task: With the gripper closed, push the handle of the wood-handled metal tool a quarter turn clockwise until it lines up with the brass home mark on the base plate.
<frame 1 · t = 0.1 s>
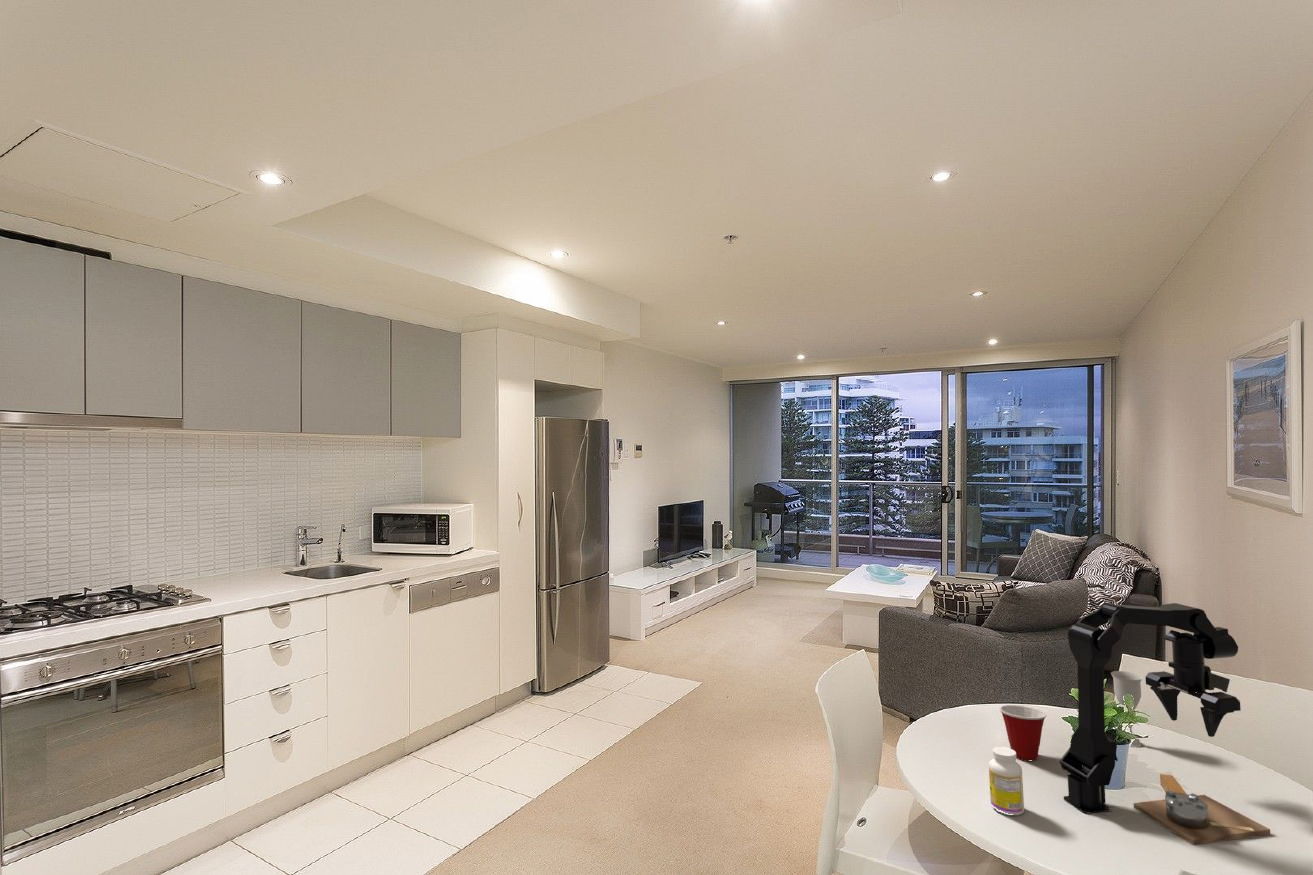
hand: (1192, 728, 151), 15 cm above the table, tool pointing down, fingers open, 9 cm apart
chalice: (1130, 743, 177), on the table
supplement bottle: (1007, 810, 147), on the table
base plate: (1187, 825, 138), on the table
wood-handled metal tool: (1179, 798, 142), point 3 cm above the table, hinge at 0.0°
plastic cup: (1024, 756, 171), on the table
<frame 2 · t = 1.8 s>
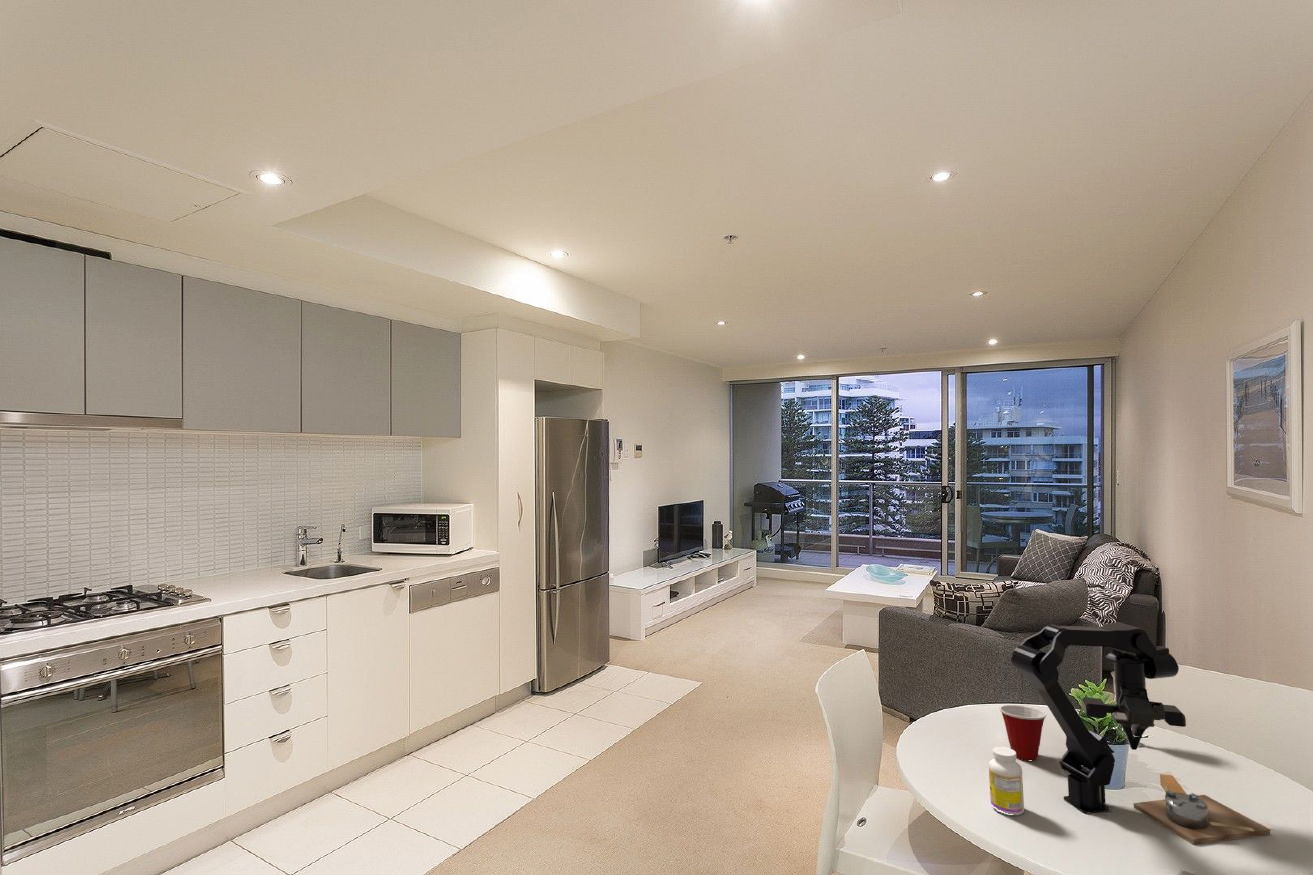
hand: (1133, 749, 150), 11 cm above the table, tool pointing down, fingers closed
nothing on the table moved.
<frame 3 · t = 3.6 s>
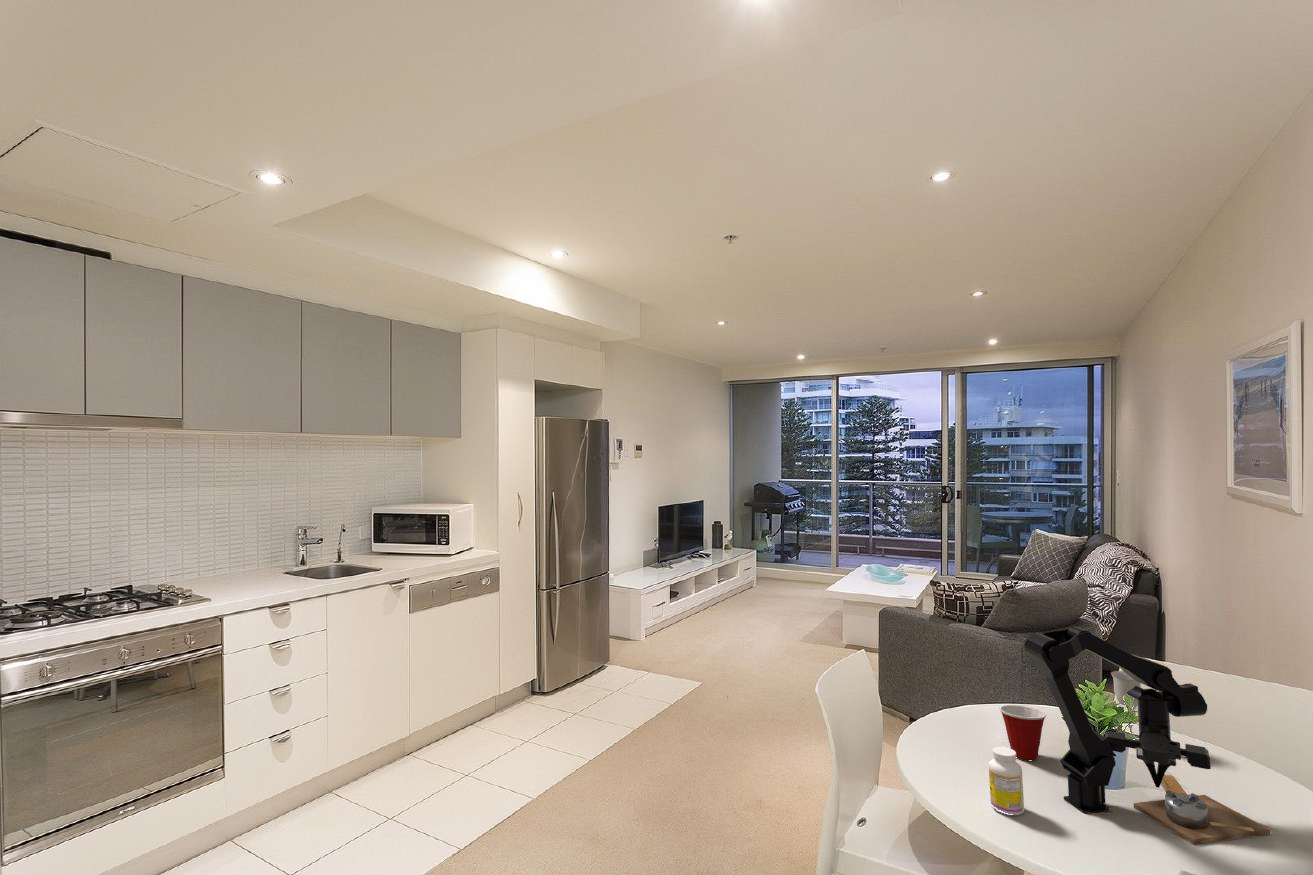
hand: (1157, 786, 148), 3 cm above the table, tool pointing down, fingers closed
wood-handled metal tool: (1179, 798, 142), point 3 cm above the table, hinge at 0.4°, touching gripper
everything else where it was.
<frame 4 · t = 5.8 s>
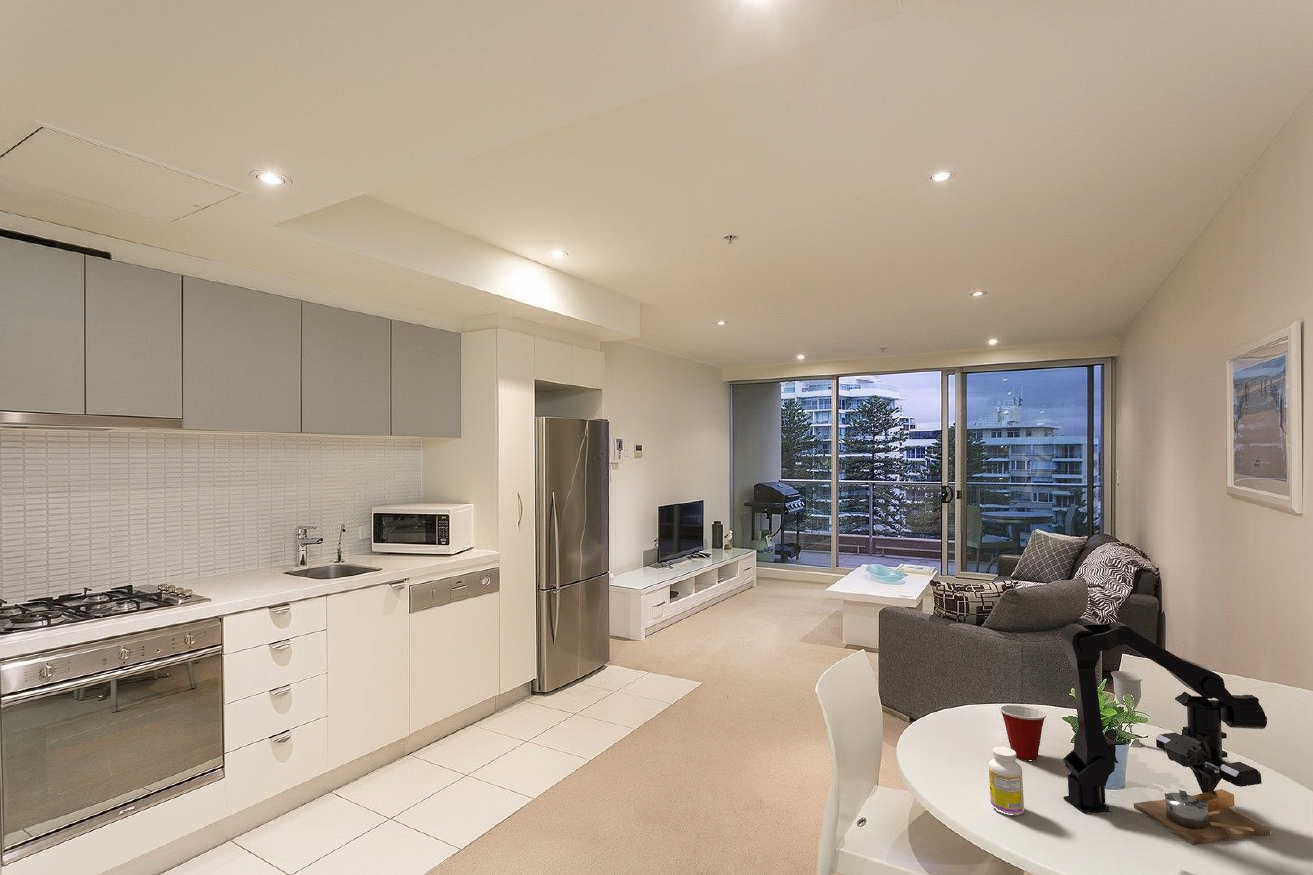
hand: (1206, 797, 143), 3 cm above the table, tool pointing down, fingers closed
wood-handled metal tool: (1201, 805, 139), point 3 cm above the table, hinge at 52.8°, touching gripper
everything else where it was.
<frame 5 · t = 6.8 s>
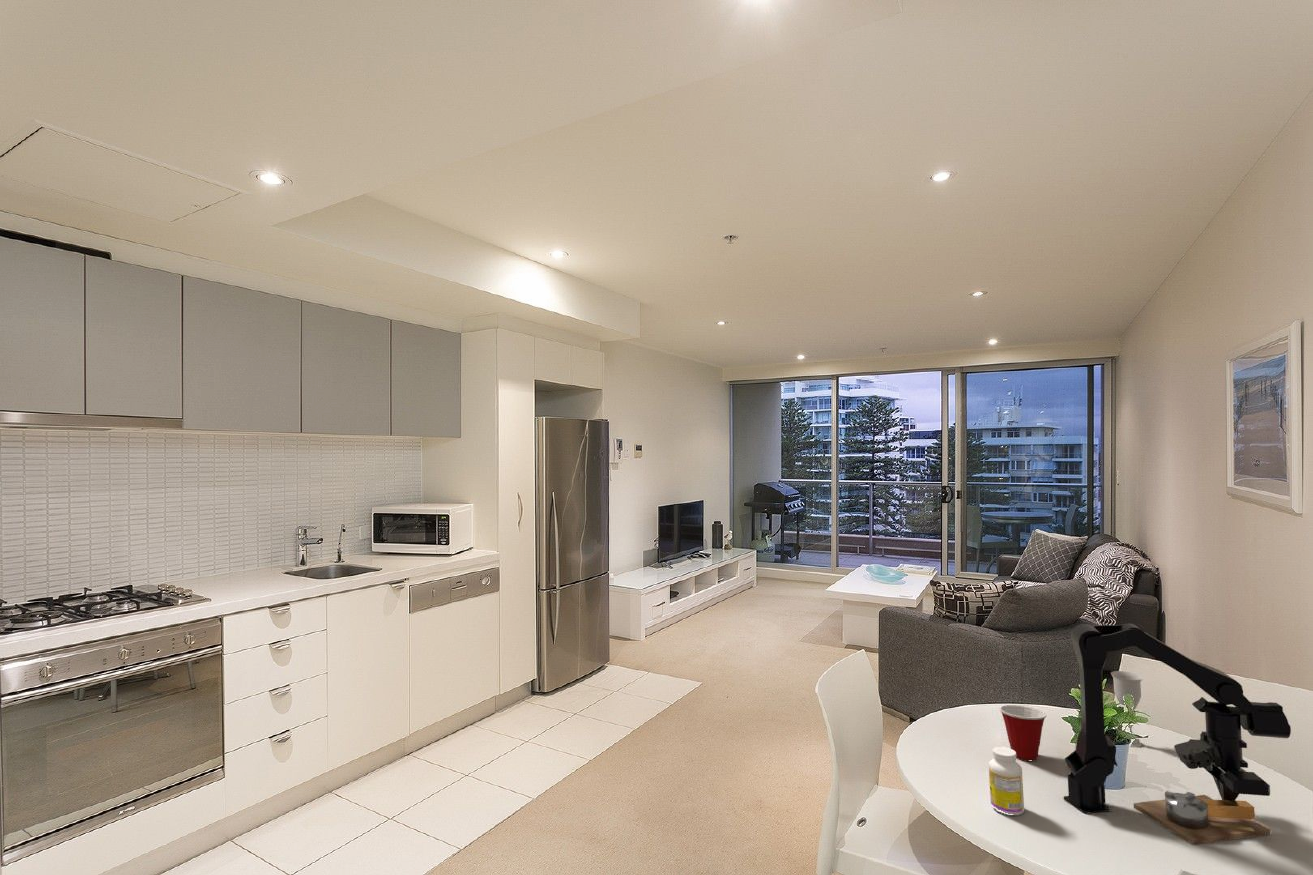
hand: (1227, 806, 139), 3 cm above the table, tool pointing down, fingers closed
wood-handled metal tool: (1208, 809, 137), point 3 cm above the table, hinge at 76.9°, touching gripper
everything else where it was.
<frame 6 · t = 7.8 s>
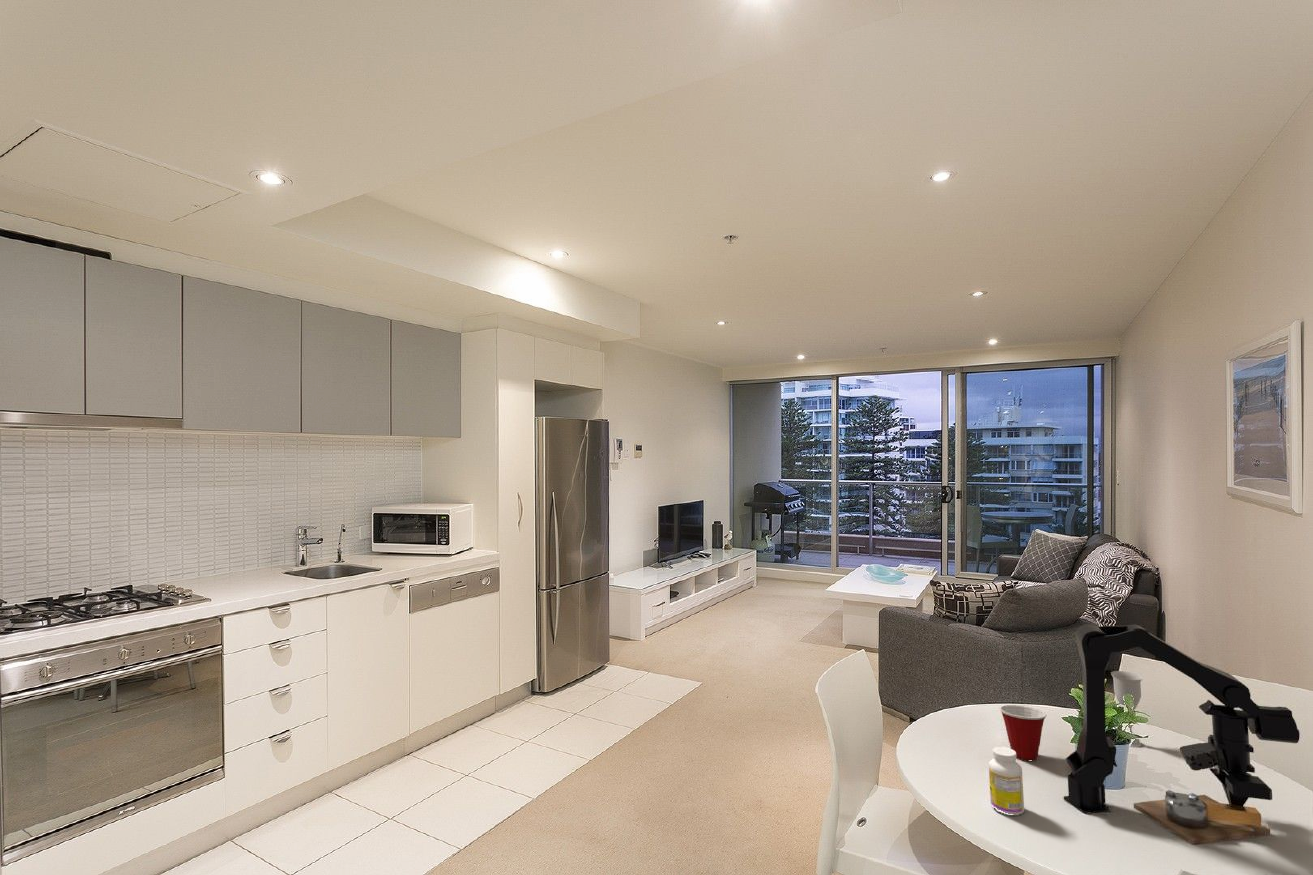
hand: (1235, 811, 137), 3 cm above the table, tool pointing down, fingers closed
wood-handled metal tool: (1211, 812, 137), point 3 cm above the table, hinge at 89.6°
everything else where it was.
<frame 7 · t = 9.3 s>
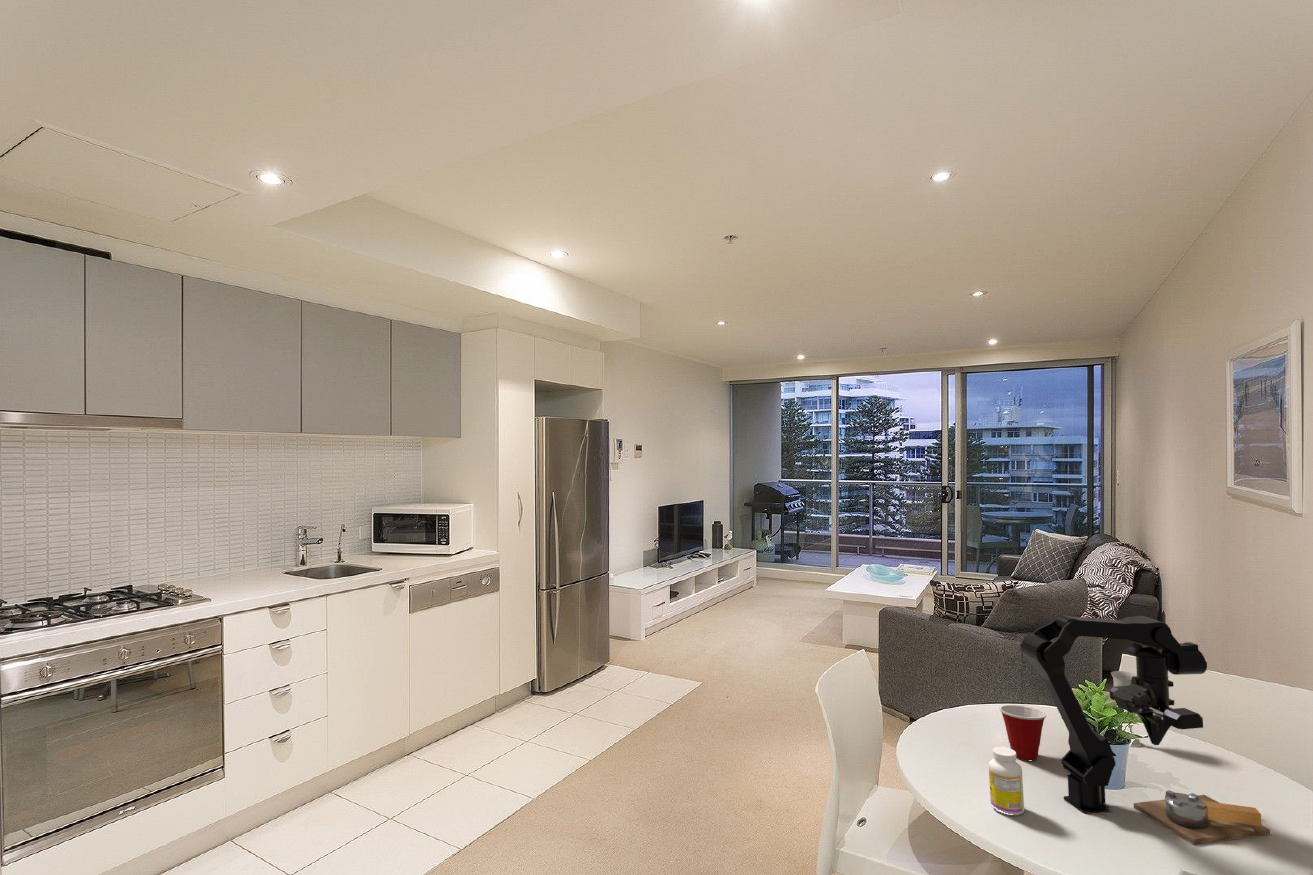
hand: (1155, 744, 147), 13 cm above the table, tool pointing down, fingers closed
nothing on the table moved.
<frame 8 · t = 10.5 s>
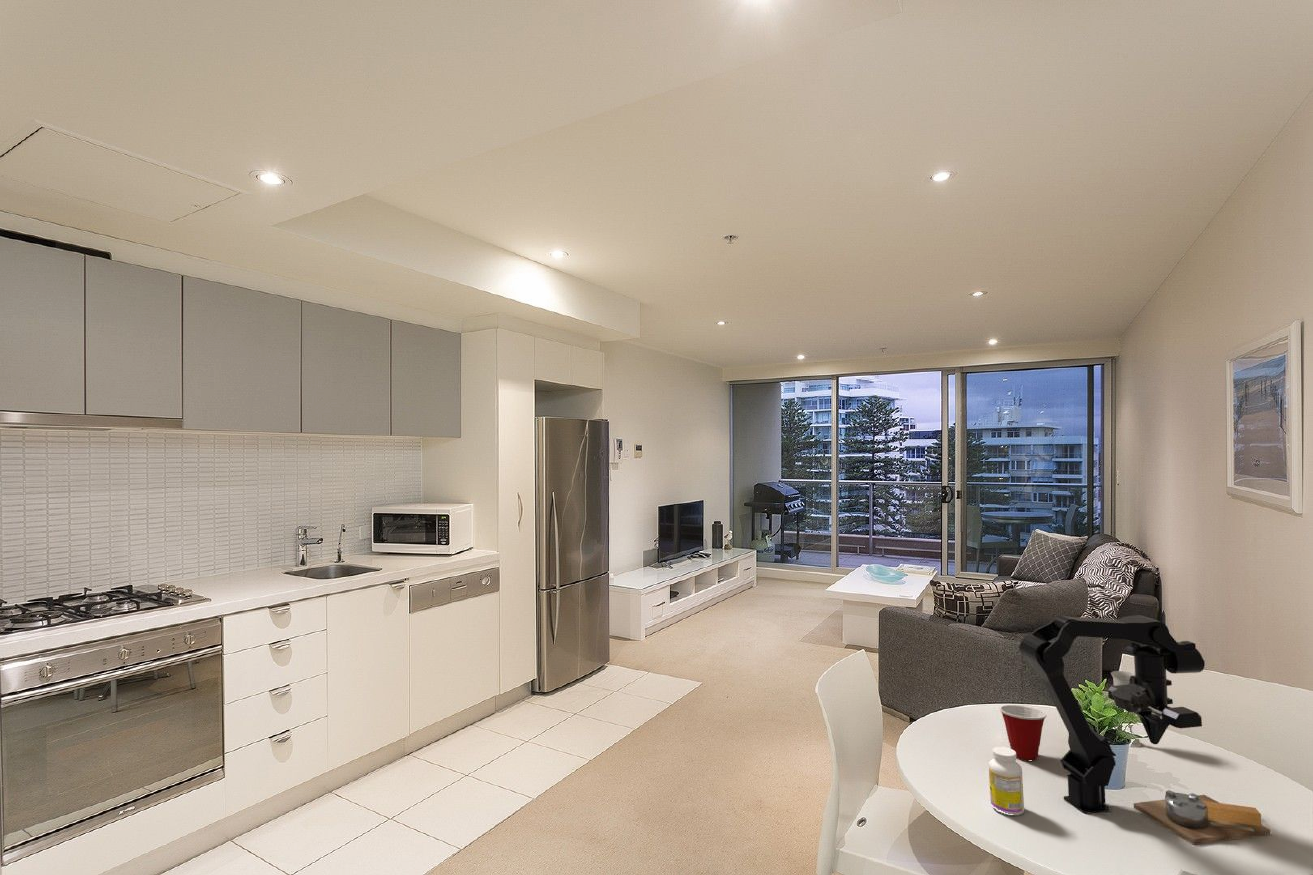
hand: (1154, 743, 148), 13 cm above the table, tool pointing down, fingers closed
nothing on the table moved.
at the end: wood-handled metal tool at +90° (first picture: +0°) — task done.
